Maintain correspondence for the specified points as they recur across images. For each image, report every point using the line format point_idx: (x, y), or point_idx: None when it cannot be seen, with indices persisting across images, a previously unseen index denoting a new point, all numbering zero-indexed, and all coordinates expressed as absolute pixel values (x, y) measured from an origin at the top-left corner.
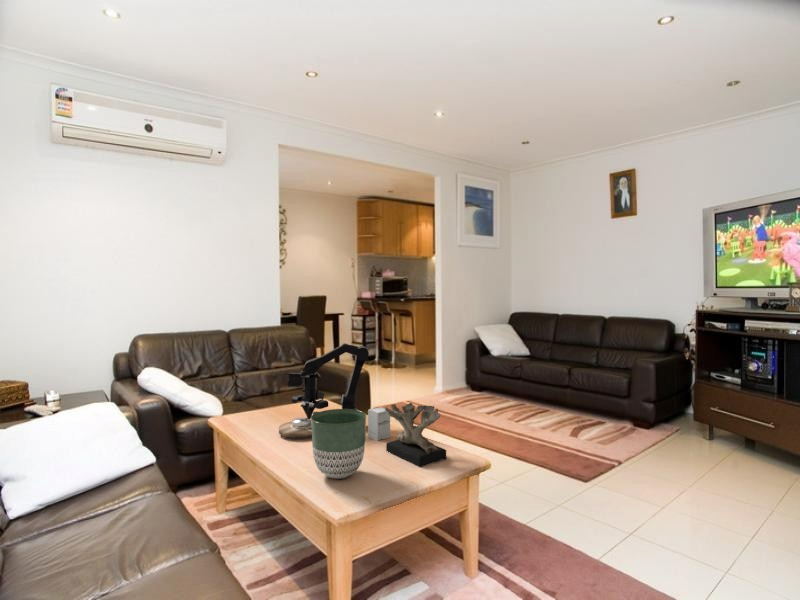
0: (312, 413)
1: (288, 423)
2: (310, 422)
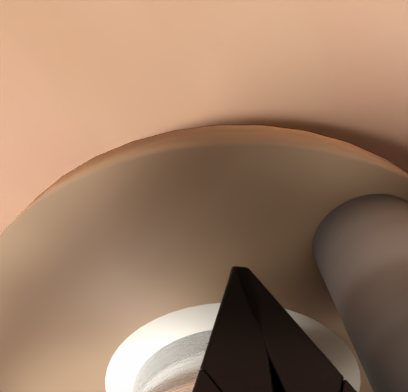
0: (325, 357)
1: (12, 369)
2: (260, 255)
